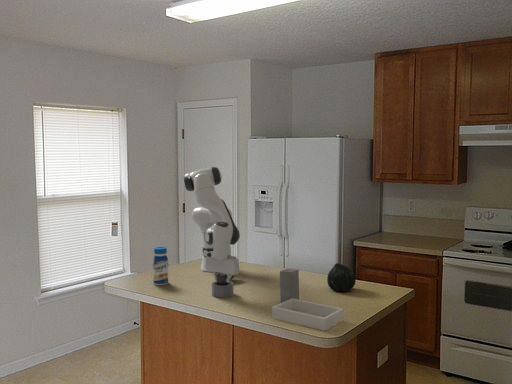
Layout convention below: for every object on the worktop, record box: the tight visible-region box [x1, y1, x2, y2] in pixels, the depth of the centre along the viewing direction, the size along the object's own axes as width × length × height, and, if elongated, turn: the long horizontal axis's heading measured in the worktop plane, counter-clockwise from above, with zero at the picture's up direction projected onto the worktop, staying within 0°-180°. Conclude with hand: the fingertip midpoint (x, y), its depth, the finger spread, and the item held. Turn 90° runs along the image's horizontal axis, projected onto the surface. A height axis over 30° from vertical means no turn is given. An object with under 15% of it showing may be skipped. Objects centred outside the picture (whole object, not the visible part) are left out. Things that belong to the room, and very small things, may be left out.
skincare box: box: [279, 268, 300, 303], centre depth 237 cm, size 8×7×16 cm
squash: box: [326, 263, 356, 293], centre depth 258 cm, size 14×15×15 cm
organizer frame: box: [271, 298, 344, 331], centre depth 212 cm, size 16×26×5 cm, turn 52°
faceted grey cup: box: [211, 280, 235, 299], centre depth 250 cm, size 11×11×6 cm
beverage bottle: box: [152, 246, 169, 286], centre depth 271 cm, size 8×8×20 cm
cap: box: [215, 273, 228, 285], centre depth 249 cm, size 6×6×5 cm
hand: (222, 281), depth 249 cm, fingers closed on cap, 6 cm apart
